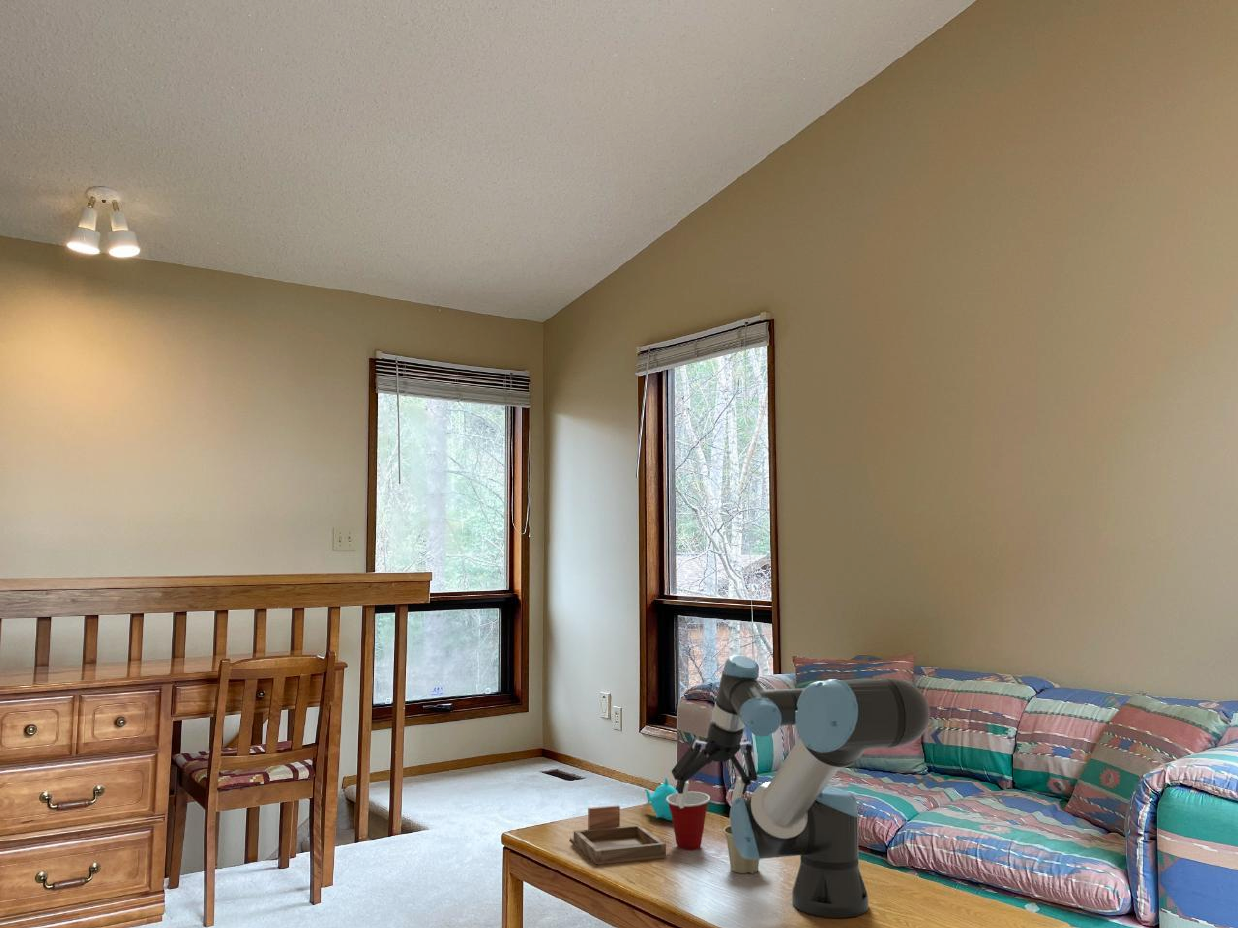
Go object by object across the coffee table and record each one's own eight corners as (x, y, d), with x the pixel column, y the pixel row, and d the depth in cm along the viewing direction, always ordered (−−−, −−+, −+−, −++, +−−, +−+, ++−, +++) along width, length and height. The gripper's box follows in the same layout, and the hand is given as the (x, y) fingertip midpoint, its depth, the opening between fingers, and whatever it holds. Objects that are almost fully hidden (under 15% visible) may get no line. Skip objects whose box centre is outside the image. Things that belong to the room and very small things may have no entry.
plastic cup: (657, 846, 234) (656, 796, 236) (685, 837, 242) (685, 788, 243) (691, 856, 227) (691, 804, 228) (719, 846, 235) (719, 796, 236)
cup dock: (665, 856, 226) (665, 824, 227) (596, 864, 221) (596, 830, 221) (634, 833, 246) (634, 803, 247) (569, 839, 240) (569, 808, 241)
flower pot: (764, 877, 212) (763, 837, 213) (721, 874, 214) (721, 834, 215) (766, 864, 221) (766, 825, 222) (725, 861, 223) (725, 823, 224)
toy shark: (673, 828, 251) (673, 786, 252) (631, 813, 265) (631, 773, 266) (701, 822, 256) (701, 781, 258) (658, 808, 271) (658, 769, 272)
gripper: (771, 715, 220) (750, 794, 226) (670, 711, 213) (651, 793, 218) (785, 733, 213) (763, 814, 219) (681, 730, 206) (661, 814, 211)
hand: (707, 804), depth 219 cm, fingers open, 13 cm apart
